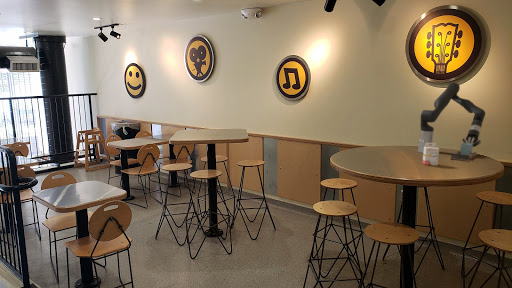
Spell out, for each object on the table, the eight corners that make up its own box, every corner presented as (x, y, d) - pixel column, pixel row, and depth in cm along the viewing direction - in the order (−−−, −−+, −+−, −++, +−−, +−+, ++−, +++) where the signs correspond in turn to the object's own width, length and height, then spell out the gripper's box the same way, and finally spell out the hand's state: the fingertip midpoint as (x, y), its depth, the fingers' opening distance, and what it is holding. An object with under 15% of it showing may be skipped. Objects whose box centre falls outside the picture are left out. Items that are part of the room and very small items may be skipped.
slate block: (462, 154, 291) (463, 142, 289) (471, 155, 287) (472, 143, 285) (459, 155, 285) (461, 143, 283) (469, 156, 281) (470, 144, 279)
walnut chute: (459, 155, 295) (459, 149, 294) (476, 157, 287) (477, 151, 286) (450, 159, 278) (450, 153, 277) (468, 161, 270) (469, 155, 269)
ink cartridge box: (424, 165, 259) (426, 143, 257) (422, 163, 264) (423, 142, 261) (438, 165, 258) (439, 143, 256) (435, 163, 263) (437, 142, 261)
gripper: (484, 136, 293) (478, 154, 286) (465, 134, 302) (459, 152, 295) (483, 129, 288) (477, 148, 282) (464, 128, 297) (458, 146, 290)
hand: (468, 150), depth 288 cm, fingers closed
